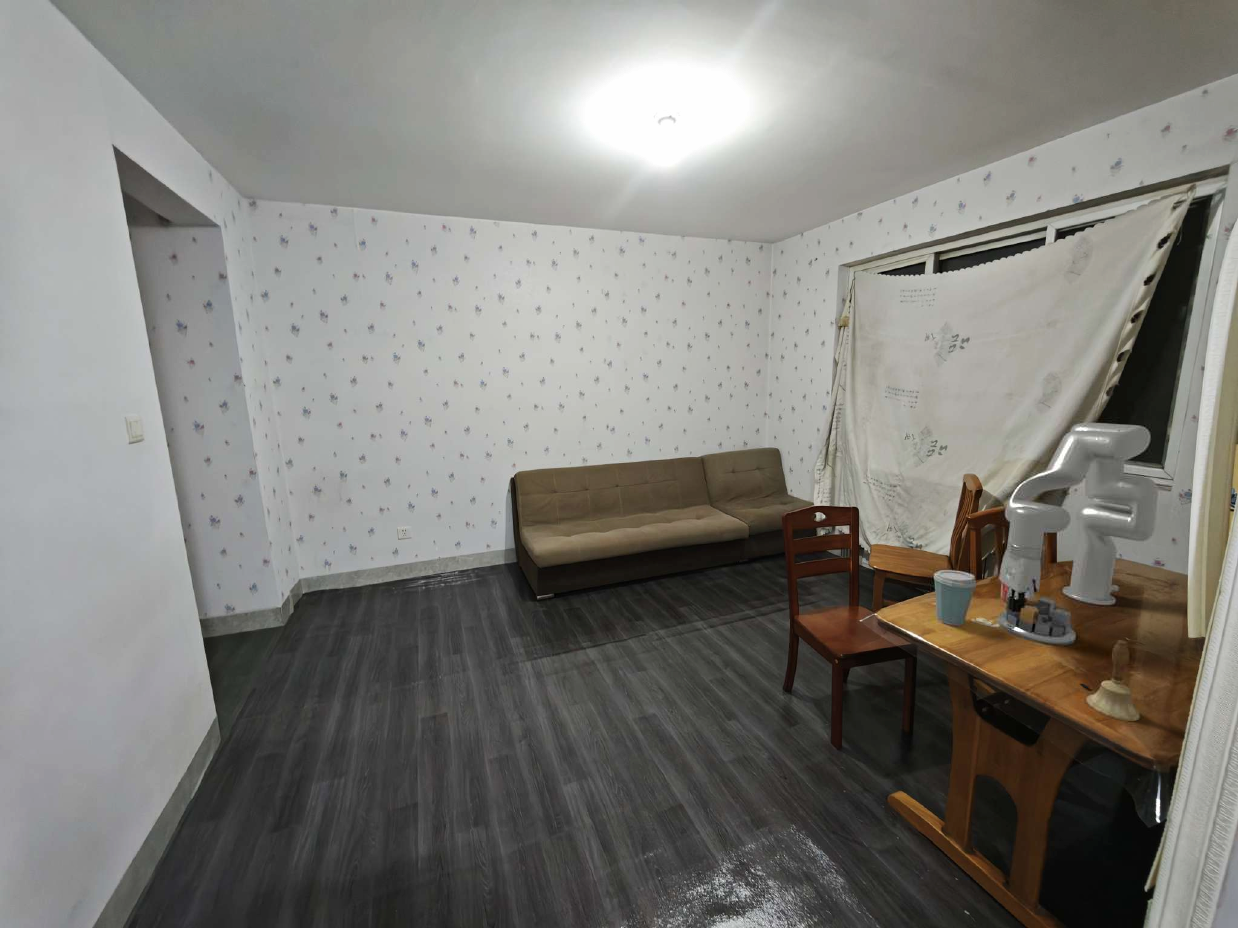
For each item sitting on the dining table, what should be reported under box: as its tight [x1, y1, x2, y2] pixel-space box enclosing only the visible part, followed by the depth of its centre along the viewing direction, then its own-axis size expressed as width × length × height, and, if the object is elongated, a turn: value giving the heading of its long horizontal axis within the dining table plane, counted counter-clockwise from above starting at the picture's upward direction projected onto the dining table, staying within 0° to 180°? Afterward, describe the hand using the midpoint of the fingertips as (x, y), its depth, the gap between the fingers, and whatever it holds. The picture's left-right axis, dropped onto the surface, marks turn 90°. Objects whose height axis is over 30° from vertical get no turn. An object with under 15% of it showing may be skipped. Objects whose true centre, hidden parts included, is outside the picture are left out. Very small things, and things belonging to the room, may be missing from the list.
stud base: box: [997, 611, 1077, 646], centre depth 140 cm, size 17×17×5 cm
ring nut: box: [1004, 596, 1072, 636], centre depth 139 cm, size 14×14×6 cm
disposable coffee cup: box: [933, 569, 977, 627], centre depth 145 cm, size 11×11×15 cm
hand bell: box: [1085, 639, 1141, 722], centre depth 105 cm, size 8×8×16 cm
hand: (1015, 610), depth 140 cm, fingers closed
